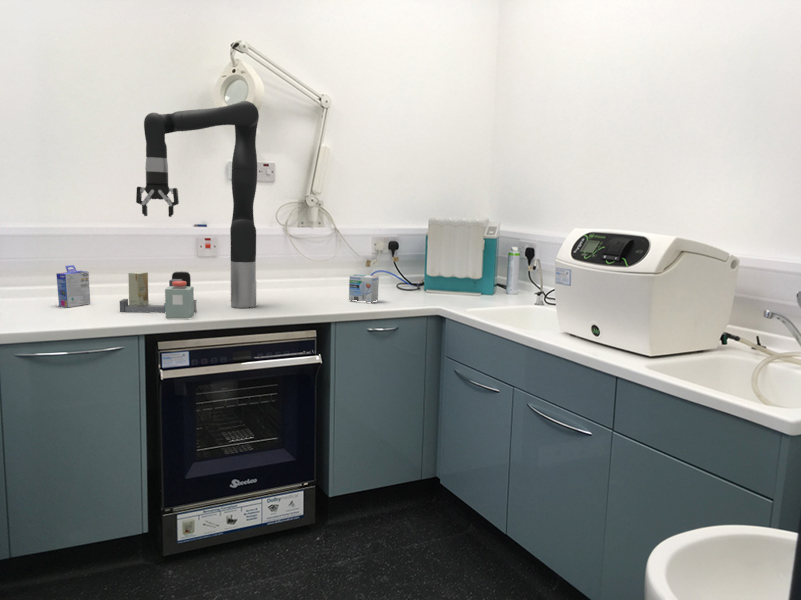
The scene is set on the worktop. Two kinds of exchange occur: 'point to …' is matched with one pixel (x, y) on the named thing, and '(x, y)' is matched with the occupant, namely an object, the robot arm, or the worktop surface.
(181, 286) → the red button
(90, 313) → the worktop surface
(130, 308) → the rail
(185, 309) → the button housing
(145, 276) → the skincare box
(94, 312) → the worktop surface
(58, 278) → the ink cartridge box
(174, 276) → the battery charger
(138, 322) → the worktop surface
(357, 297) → the light bulb box
